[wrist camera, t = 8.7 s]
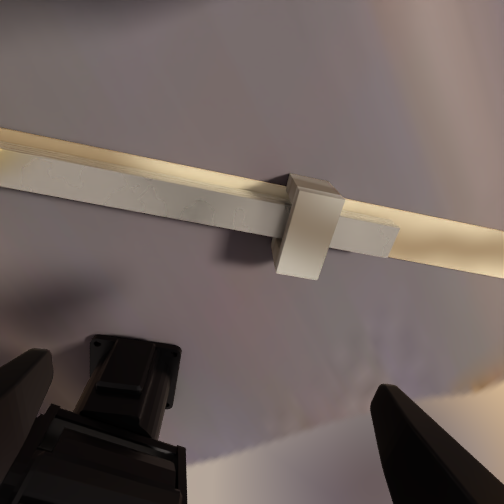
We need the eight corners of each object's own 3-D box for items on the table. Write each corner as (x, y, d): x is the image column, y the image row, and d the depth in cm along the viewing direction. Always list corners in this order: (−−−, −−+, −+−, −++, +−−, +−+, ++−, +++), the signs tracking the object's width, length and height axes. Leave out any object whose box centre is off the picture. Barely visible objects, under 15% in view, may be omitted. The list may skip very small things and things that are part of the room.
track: (504, 287, 24) (545, 319, 21) (-424, 118, 17) (-575, 126, 14) (543, 226, 22) (595, 251, 19) (-492, 7, 15) (-687, -13, 12)
